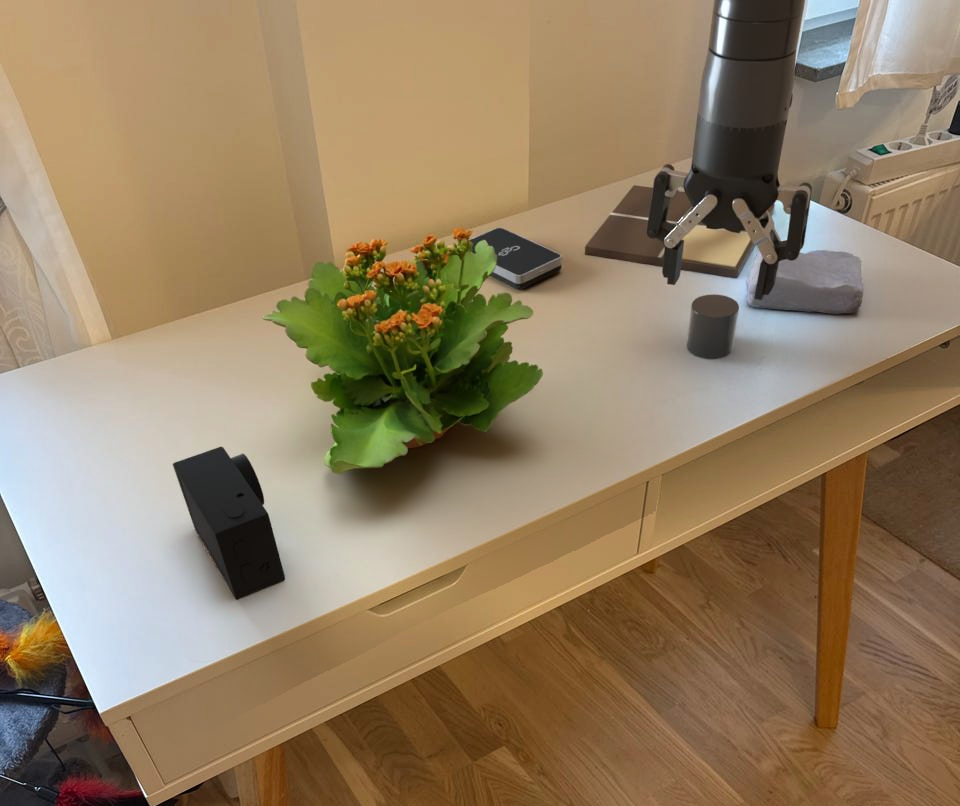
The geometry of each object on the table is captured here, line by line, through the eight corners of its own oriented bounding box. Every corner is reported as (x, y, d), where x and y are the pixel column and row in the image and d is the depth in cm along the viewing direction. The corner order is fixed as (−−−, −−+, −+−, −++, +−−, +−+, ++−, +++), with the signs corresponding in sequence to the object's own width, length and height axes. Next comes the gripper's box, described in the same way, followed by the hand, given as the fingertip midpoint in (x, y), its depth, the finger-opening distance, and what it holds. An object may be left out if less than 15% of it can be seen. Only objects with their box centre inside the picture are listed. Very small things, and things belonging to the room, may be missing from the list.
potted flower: (241, 398, 95) (194, 223, 83) (443, 323, 104) (429, 153, 91) (361, 533, 81) (327, 345, 68) (585, 432, 89) (593, 248, 76)
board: (773, 211, 118) (775, 202, 117) (736, 278, 107) (738, 268, 107) (633, 192, 124) (633, 183, 123) (584, 254, 113) (584, 244, 112)
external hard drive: (500, 242, 116) (499, 226, 115) (564, 273, 110) (565, 256, 109) (456, 262, 113) (455, 245, 112) (520, 294, 107) (519, 277, 106)
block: (745, 283, 110) (742, 309, 102) (753, 238, 107) (752, 262, 99) (852, 295, 108) (858, 322, 100) (864, 250, 105) (872, 275, 97)
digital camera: (300, 575, 78) (283, 507, 73) (236, 601, 76) (215, 533, 71) (254, 506, 84) (235, 439, 79) (194, 528, 82) (171, 462, 77)
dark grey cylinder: (737, 339, 99) (744, 298, 95) (725, 362, 96) (732, 320, 93) (693, 331, 100) (698, 291, 97) (680, 354, 97) (685, 312, 94)
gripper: (648, 113, 81) (633, 294, 93) (820, 133, 77) (781, 320, 89) (674, 84, 86) (656, 260, 98) (837, 101, 82) (798, 283, 94)
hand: (716, 288), depth 93 cm, fingers open, 8 cm apart
